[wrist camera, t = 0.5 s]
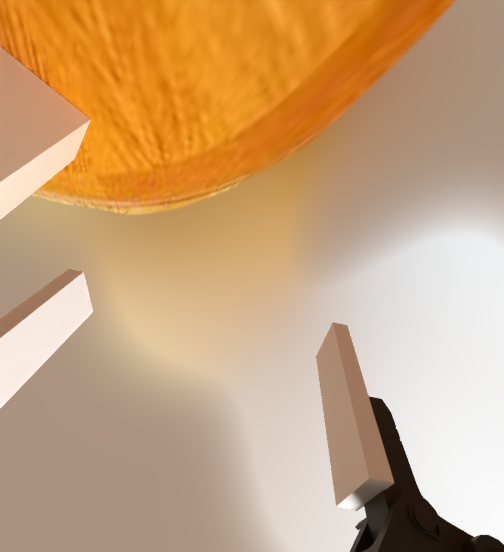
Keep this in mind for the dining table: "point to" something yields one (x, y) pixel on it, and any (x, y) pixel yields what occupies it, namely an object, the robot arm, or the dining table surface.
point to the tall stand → (32, 132)
